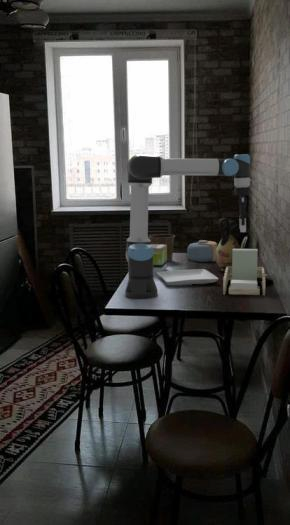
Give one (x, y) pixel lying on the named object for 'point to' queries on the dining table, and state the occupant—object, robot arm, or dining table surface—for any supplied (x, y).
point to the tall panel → (244, 264)
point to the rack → (229, 277)
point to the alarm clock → (202, 251)
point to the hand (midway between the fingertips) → (242, 230)
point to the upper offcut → (244, 284)
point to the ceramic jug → (226, 244)
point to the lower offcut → (244, 291)
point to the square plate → (187, 277)
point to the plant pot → (164, 243)
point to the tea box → (159, 258)
